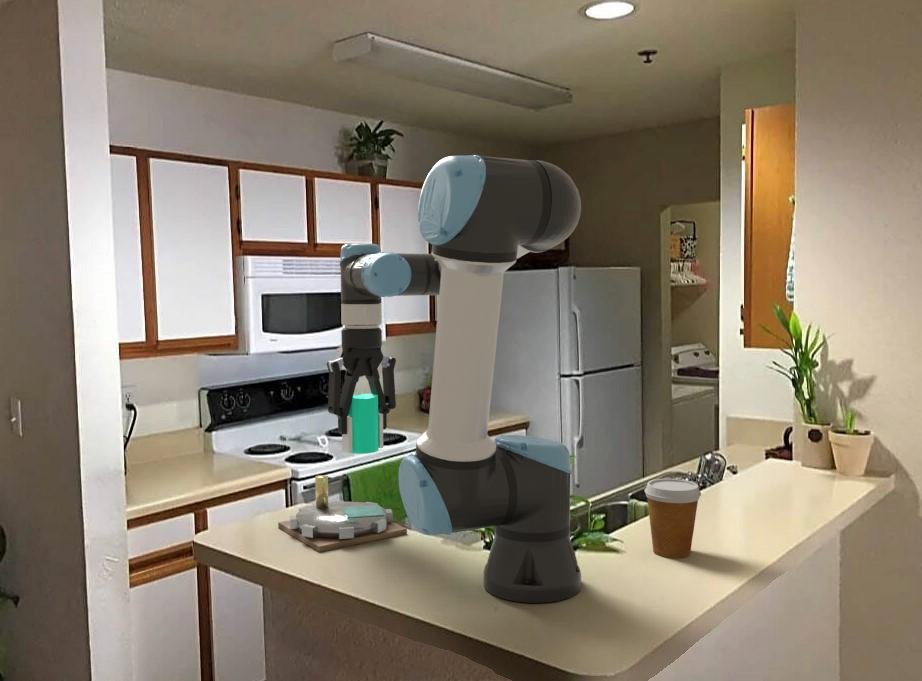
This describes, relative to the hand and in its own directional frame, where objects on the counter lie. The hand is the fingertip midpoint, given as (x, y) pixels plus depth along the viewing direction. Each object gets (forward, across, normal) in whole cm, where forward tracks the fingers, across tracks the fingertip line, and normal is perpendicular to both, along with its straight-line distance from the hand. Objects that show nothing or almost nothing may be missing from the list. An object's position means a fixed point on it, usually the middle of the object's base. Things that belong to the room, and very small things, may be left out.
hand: (362, 448), depth 158 cm
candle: (+1, 0, 0) cm, 1 cm away
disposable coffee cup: (+16, -37, +43) cm, 59 cm away
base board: (+16, +4, -2) cm, 16 cm away
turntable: (+14, +4, -2) cm, 15 cm away
